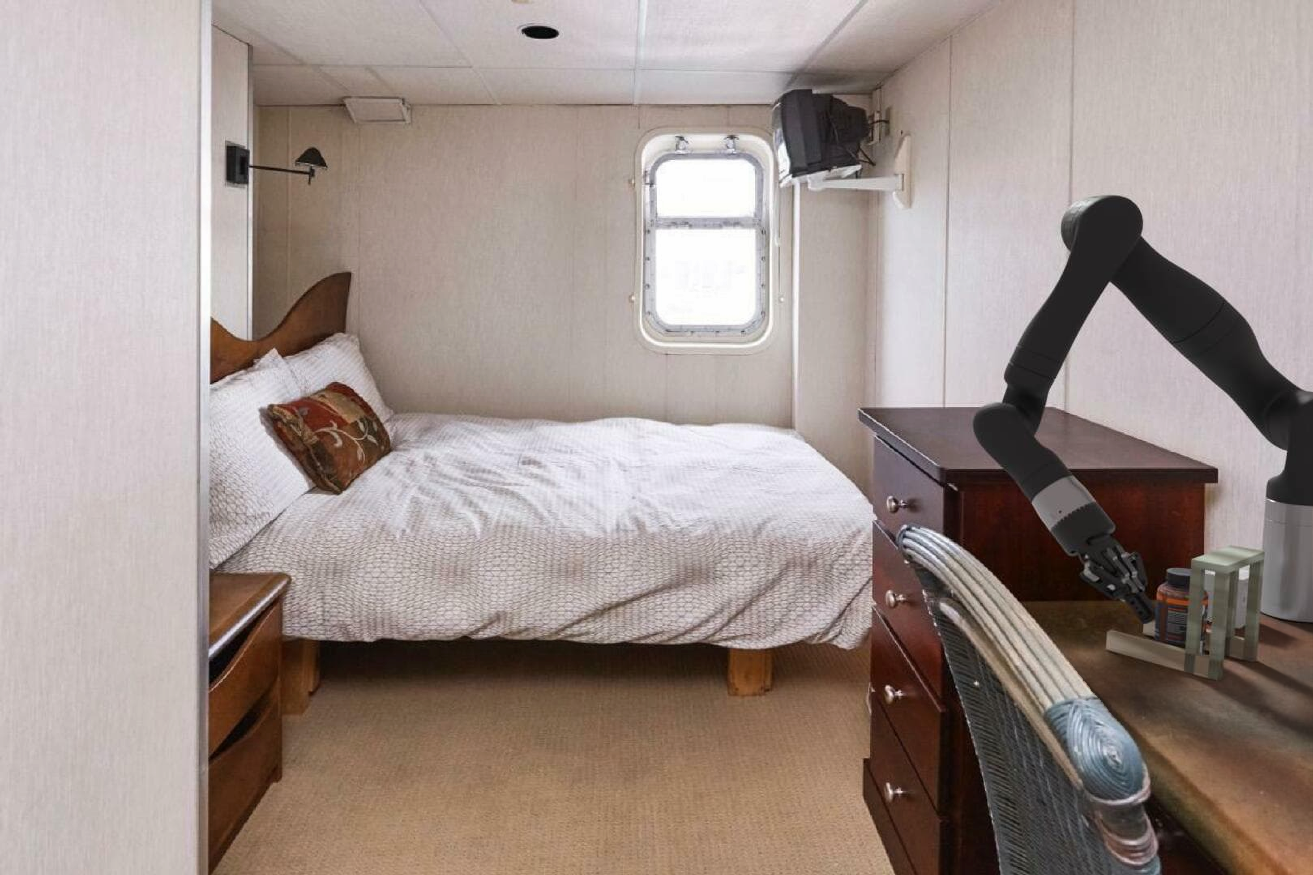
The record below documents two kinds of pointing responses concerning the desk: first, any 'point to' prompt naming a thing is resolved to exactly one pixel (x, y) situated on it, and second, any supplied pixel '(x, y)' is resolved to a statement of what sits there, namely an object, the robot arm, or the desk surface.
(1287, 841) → the desk surface
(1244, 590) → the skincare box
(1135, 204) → the robot arm
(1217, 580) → the channel
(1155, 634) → the supplement bottle
